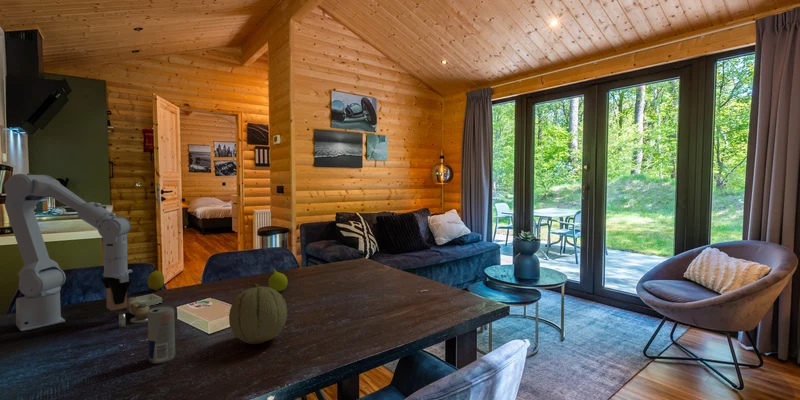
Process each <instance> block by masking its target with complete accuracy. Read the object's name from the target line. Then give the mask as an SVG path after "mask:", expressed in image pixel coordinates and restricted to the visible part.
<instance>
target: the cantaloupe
mask: <svg viewBox="0 0 800 400" xmlns="http://www.w3.org/2000/svg"><path fill="white" fill-rule="evenodd" d="M287 317H288V307H287V303H286V300H285V298H284V297H283V295H282V294H281V293H280V291H279V292H277V291H276V290H275V289H272V288H270V287H269V286H268V287H267V286H260V285H259V284H257V283H252V287H251V288H247V289H245V290H243V291H242V292H241V293H239V294H238V295H237V296H236V297H235V299H234V300H233V302H232V304H231V305H230V309H229V313H228V323H229V327H230V329H231V332H232V334H233V335H234V336H235V337H236V338H237V339H238V340H240V341H242V342H244V343H246V344H249V345H260V344H262V343H265V342H268V341H270V340H272V339H274V338H275V337H277V336H278V335H279V334H280V333H281V332H282V330H283V329H284V327H285V325H286V323H287Z"/></svg>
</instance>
